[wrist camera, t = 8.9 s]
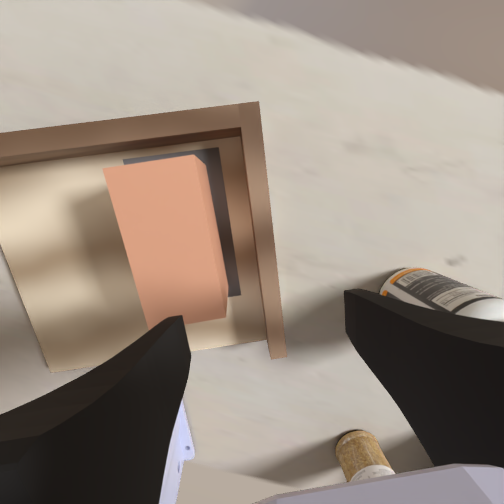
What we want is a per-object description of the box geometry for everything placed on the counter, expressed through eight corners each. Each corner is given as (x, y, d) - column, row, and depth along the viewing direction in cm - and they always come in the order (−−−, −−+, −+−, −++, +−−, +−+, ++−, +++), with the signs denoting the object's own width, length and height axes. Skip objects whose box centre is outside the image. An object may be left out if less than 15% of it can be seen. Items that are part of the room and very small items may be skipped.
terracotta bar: (140, 175, 17) (102, 168, 12) (205, 165, 17) (193, 154, 12) (171, 295, 19) (148, 330, 14) (228, 285, 19) (226, 317, 14)
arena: (278, 330, 21) (287, 357, 18) (59, 364, 21) (25, 397, 17) (254, 118, 17) (258, 101, 14) (-21, 153, 17) (-86, 143, 13)
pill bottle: (418, 332, 22) (555, 437, 13) (363, 314, 22) (465, 412, 12) (449, 276, 21) (625, 345, 12) (392, 255, 21) (531, 312, 11)
